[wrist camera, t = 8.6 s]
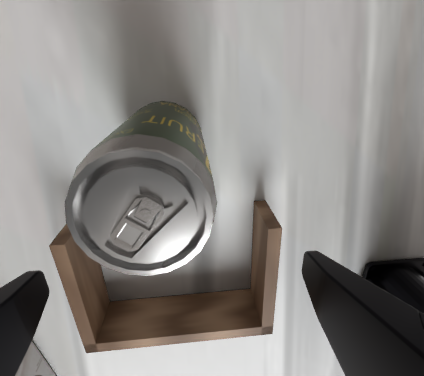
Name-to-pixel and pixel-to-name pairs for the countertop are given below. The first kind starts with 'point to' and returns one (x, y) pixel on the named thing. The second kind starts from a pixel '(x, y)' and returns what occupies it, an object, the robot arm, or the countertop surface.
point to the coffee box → (34, 364)
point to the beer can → (144, 194)
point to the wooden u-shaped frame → (171, 299)
